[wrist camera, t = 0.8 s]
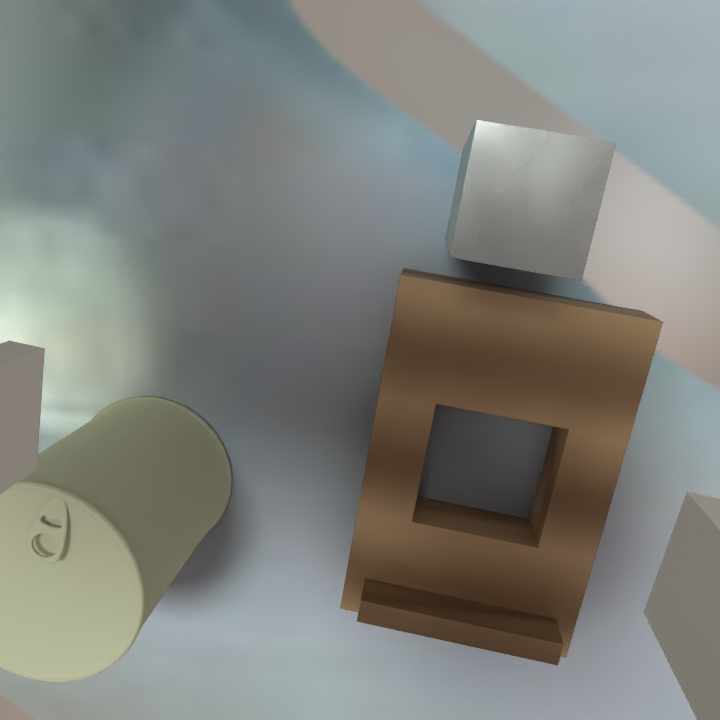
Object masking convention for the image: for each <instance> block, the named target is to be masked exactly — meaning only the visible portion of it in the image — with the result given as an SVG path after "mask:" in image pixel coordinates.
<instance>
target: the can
mask: <svg viewBox="0 0 720 720" xmlns="http://www.w3.org/2000/svg"><path fill="white" fill-rule="evenodd" d="M231 487H232V475H231V467H230V463H229V459H228V456H227V453H226V451H225V448H224V446H223V444H222V443H221V441H220V439H219V437H218V436H217V435H216V433H215V432H214V430H213V429H212V428H211V427H210V426H209V425H208V424H207V423H206V422H205V421H204V420H203V419H202V418H201V417H200V416H198V415H197V414H196V413H194V412H193V411H191V410H190V409H188V408H186V407H185V406H183V405H180V404H178V403H176V402H173V401H170V400H167V399H163V398H157V397H133V398H128V399H124V400H120V401H118V402H116V403H113V404H111V405H109V406H108V407H106V408H104V409H103V410H102V411H100V412H99V413H98V414H97V415H96V416H95V417H94V418H93V419H92V420H91V421H90V422H88V423H87V424H85V425H84V426H82V427H80V428H79V429H77V430H76V431H74V432H73V433H71V434H70V435H68V436H67V437H65V438H64V439H62V440H60V441H59V442H57V443H56V444H54V445H52V446H51V447H49V448H48V449H46V450H44V451H43V452H41V453H40V454H38V459H37V470H35V471H34V472H32V473H31V474H29V475H28V476H27V477H25V478H24V479H22V480H21V481H19V482H18V483H16V484H15V485H13V486H12V487H10V488H9V489H7V490H6V491H5V492H3V493H2V494H0V667H1V668H3V669H5V670H7V671H9V672H12V673H14V674H17V675H20V676H23V677H26V678H30V679H35V680H40V681H48V682H69V681H76V680H81V679H84V678H88V677H91V676H94V675H96V674H98V673H100V672H103V671H104V670H106V669H107V668H109V667H111V666H112V665H113V664H115V663H116V662H117V661H118V660H119V659H120V658H122V657H123V656H124V654H125V653H126V652H127V651H128V650H129V648H130V647H131V646H132V644H133V642H134V641H135V639H136V637H137V635H138V633H139V631H140V629H141V627H142V626H143V624H144V623H145V621H146V620H147V618H148V617H149V615H150V614H151V612H152V611H153V609H154V608H155V606H156V605H157V603H158V602H159V600H160V599H161V597H162V596H163V594H164V593H165V592H166V590H167V589H168V587H169V586H170V584H171V583H172V581H173V580H174V579H175V577H176V576H177V574H178V573H179V571H180V570H181V568H182V567H183V565H184V564H185V563H186V561H187V560H188V558H189V557H190V555H191V554H192V552H193V551H194V550H195V548H196V547H197V546H198V544H199V543H200V542H201V540H202V539H203V537H204V536H205V535H206V533H207V532H209V531H210V530H211V529H212V528H213V527H214V526H215V525H216V524H217V522H218V521H219V520H220V518H221V517H222V515H223V513H224V511H225V509H226V507H227V504H228V502H229V498H230V494H231Z"/></svg>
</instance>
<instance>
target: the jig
mask: <svg viewBox="0 0 720 720" xmlns="http://www.w3.org/2000/svg"><path fill="white" fill-rule="evenodd" d="M662 324H663V322H662V321H660V320H658V319H656V318H654V317H652V316H651V315H649V314H647V313H645V312H643V311H639V310H634V309H627V308H622V307H617V306H611V305H606V304H600V303H594V302H589V301H583V300H578V299H572V298H566V297H561V296H555V295H549V294H544V293H538V292H533V291H527V290H521V289H516V288H510V287H505V286H499V285H493V284H488V283H482V282H477V281H471V280H465V279H460V278H454V277H449V276H443V275H437V274H432V273H426V272H420V271H415V270H409V269H403V271H402V273H401V275H400V279H399V285H398V291H397V296H396V302H395V307H394V313H393V318H392V324H391V329H390V335H389V340H388V346H387V351H386V357H385V363H384V368H383V374H382V379H381V385H380V390H379V396H378V401H377V407H376V412H375V418H374V424H373V429H372V435H371V440H370V446H369V451H368V457H367V462H366V468H365V473H364V479H363V485H362V490H361V496H360V501H359V507H358V512H357V518H356V523H355V529H354V534H353V540H352V546H351V551H350V557H349V562H348V568H347V573H346V579H345V584H344V590H343V595H342V601H341V606H340V608H341V609H346V610H351V611H355V612H358V618H357V621H358V622H362V623H367V624H371V625H376V626H380V627H385V628H390V629H394V630H399V631H403V632H408V633H412V634H417V635H422V636H426V637H431V638H435V639H440V640H444V641H449V642H454V643H458V644H463V645H467V646H472V647H476V648H481V649H486V650H490V651H495V652H499V653H504V654H508V655H513V656H518V657H522V658H527V659H531V660H536V661H540V662H545V663H550V664H554V665H558V662H559V659H560V656H562V657H566V655H567V652H568V648H569V645H570V642H571V638H572V635H573V631H574V628H575V624H576V621H577V617H578V614H579V610H580V607H581V604H582V600H583V597H584V593H585V590H586V586H587V583H588V579H589V576H590V572H591V569H592V566H593V562H594V559H595V555H596V552H597V548H598V545H599V541H600V538H601V534H602V531H603V528H604V524H605V521H606V517H607V514H608V510H609V507H610V503H611V500H612V496H613V493H614V490H615V486H616V483H617V479H618V476H619V472H620V469H621V465H622V462H623V458H624V455H625V452H626V448H627V445H628V441H629V438H630V434H631V431H632V427H633V424H634V420H635V417H636V414H637V410H638V407H639V403H640V400H641V396H642V393H643V389H644V386H645V382H646V379H647V376H648V372H649V369H650V365H651V362H652V358H653V355H654V351H655V348H656V344H657V341H658V337H659V334H660V331H661V327H662ZM436 404H440V405H445V406H450V407H455V408H460V409H465V410H471V411H476V412H481V413H486V414H491V415H497V416H502V417H507V418H512V419H517V420H523V421H528V422H533V423H538V424H543V425H549V426H554V427H553V430H552V434H551V438H550V442H549V446H548V450H547V454H546V458H545V462H544V466H543V469H542V473H541V477H540V481H539V485H538V489H537V493H536V497H535V501H534V505H533V508H532V512H531V516H530V520H529V519H524V518H519V517H514V516H509V515H504V514H500V513H495V512H490V511H485V510H480V509H475V508H470V507H465V506H460V505H455V504H450V503H445V502H441V501H436V500H431V499H426V498H421V497H417V494H418V489H419V485H420V480H421V475H422V470H423V465H424V460H425V455H426V450H427V446H428V441H429V436H430V431H431V426H432V421H433V416H434V411H435V406H436Z"/></svg>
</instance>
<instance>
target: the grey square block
mask: <svg viewBox="0 0 720 720" xmlns="http://www.w3.org/2000/svg"><path fill="white" fill-rule="evenodd" d="M615 146H616V142H611V141H605V140H599V139H593V138H586V137H580V136H573V135H567V134H561V133H554V132H549V131H543V130H536V129H530V128H524V127H518V126H511V125H505V124H499V123H492V122H486V121H480V120H477V121H476V123H475V125H474V127H473V129H472V131H471V133H470V135H469V137H468V139H467V141H466V144H465V146H464V148H463V152H462V158H461V163H460V168H459V173H458V178H457V183H456V188H455V193H454V198H453V204H452V209H451V214H450V219H449V224H448V229H447V234H446V243H447V248H448V252H449V257H450V258H456V259H461V260H467V261H473V262H478V263H484V264H490V265H495V266H501V267H507V268H512V269H518V270H524V271H529V272H535V273H541V274H546V275H552V276H558V277H564V278H569V279H575V280H581V281H582V277H583V273H584V269H585V265H586V261H587V257H588V252H589V249H590V245H591V241H592V237H593V233H594V229H595V225H596V221H597V217H598V213H599V209H600V205H601V201H602V197H603V193H604V189H605V185H606V181H607V177H608V174H609V169H610V166H611V162H612V158H613V154H614V150H615Z"/></svg>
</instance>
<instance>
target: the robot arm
mask: <svg viewBox="0 0 720 720" xmlns="http://www.w3.org/2000/svg"><path fill="white" fill-rule="evenodd" d="M44 350H45V348H40V347H36V346H31V345H27V344H22V343H18V342H13V341H7V342H4V343H1V344H0V494H2V493H3V492H5V491H6V490H7V489H9V488H10V487H12V486H13V485H15V484H16V483H18V482H19V481H21V480H22V479H24V478H25V477H27V476H28V475H29V474H31V473H32V472H34V471H35V470H37V459H38V444H39V428H40V413H41V397H42V381H43V366H44ZM644 614H645V616H646V618H647V620H648V622H649V624H650V626H651V628H652V630H653V632H654V634H655V636H656V638H657V640H658V642H659V644H660V646H661V648H662V650H663V652H664V654H665V656H666V658H667V660H668V662H669V664H670V666H671V668H672V670H673V672H674V674H675V676H676V678H677V680H678V682H679V684H680V686H681V688H682V690H683V692H684V694H685V696H686V698H687V700H688V702H689V704H690V706H691V708H692V710H693V712H694V714H695V716H696V718H697V720H720V499H718V498H713V497H709V496H705V495H700V494H696V493H691V492H687V493H686V496H685V499H684V502H683V504H682V507H681V510H680V513H679V516H678V518H677V521H676V524H675V527H674V530H673V532H672V535H671V538H670V541H669V543H668V546H667V549H666V552H665V555H664V557H663V560H662V563H661V566H660V569H659V571H658V574H657V577H656V580H655V582H654V585H653V588H652V591H651V594H650V596H649V599H648V602H647V605H646V608H645V610H644Z"/></svg>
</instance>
